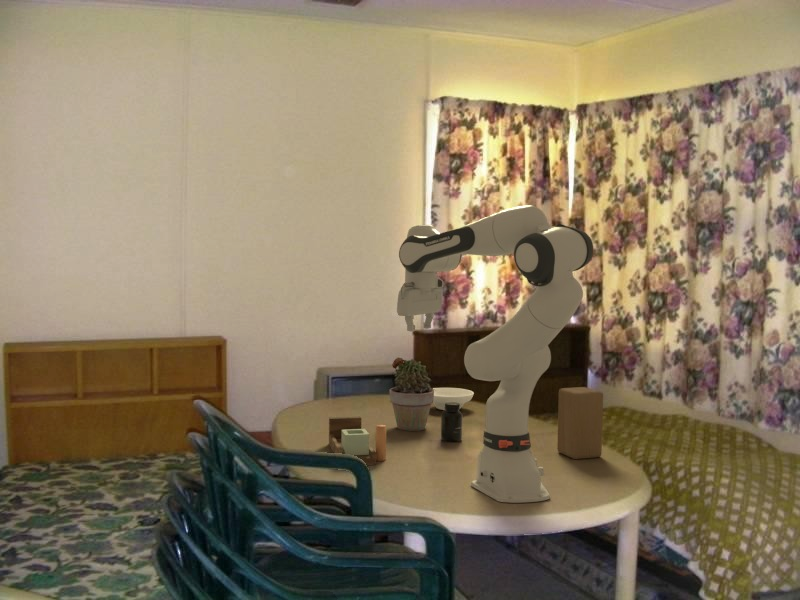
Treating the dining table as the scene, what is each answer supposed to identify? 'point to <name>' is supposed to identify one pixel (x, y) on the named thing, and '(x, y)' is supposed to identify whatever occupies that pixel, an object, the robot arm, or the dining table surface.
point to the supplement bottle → (451, 423)
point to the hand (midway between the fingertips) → (419, 329)
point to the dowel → (381, 442)
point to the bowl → (451, 396)
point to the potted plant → (411, 395)
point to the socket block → (355, 442)
